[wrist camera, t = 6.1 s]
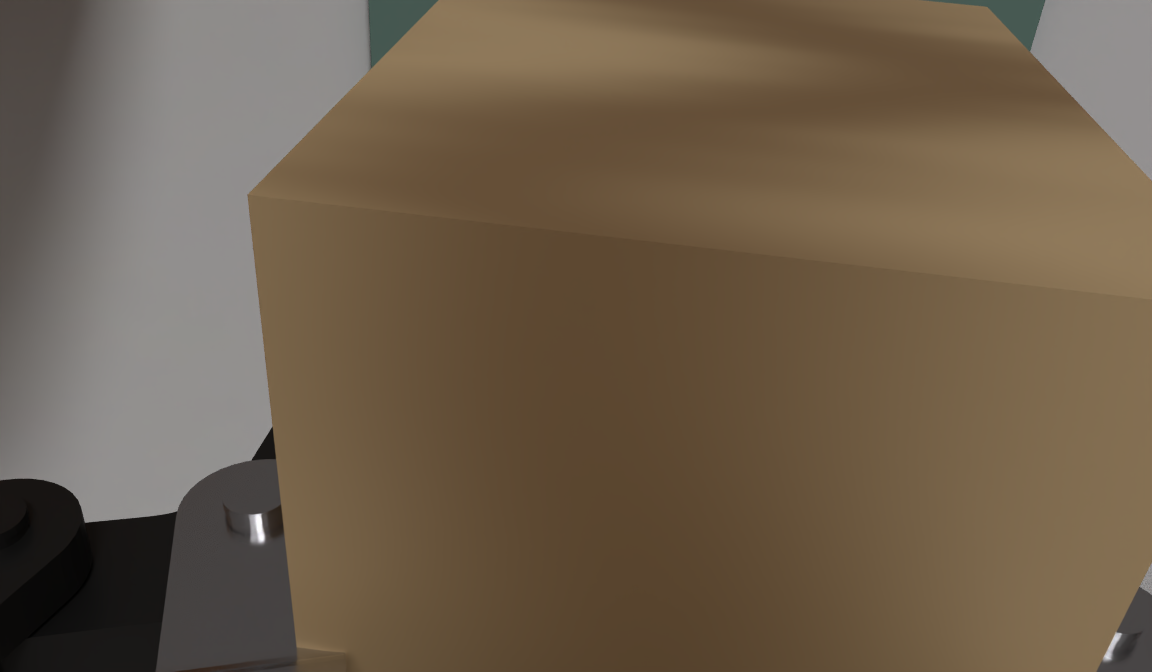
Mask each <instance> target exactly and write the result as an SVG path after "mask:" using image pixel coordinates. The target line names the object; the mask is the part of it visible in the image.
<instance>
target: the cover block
mask: <svg viewBox="0 0 1152 672" xmlns="http://www.w3.org/2000/svg"><path fill="white" fill-rule="evenodd" d="M248 204H249V213H250V222H251V231H252V241H253V250H254V259H255V268H256V277H257V287H258V296H259V305H260V314H261V323H262V333H263V342H264V351H265V360H266V369H267V379H268V388H269V397H270V406H271V415H272V425H273V434H274V443H275V452H276V461H277V471H278V480H279V489H280V498H281V507H282V517H283V526H284V535H285V544H286V553H287V563H288V572H289V581H290V590H291V600H292V609H293V618H294V627H295V636H296V646H297V647H299V648H306V649H314V650H322V651H332V652H344V653H345V656H346V670H347V672H1096V671H1097V669H1098V667H1099V665H1100V663H1101V661H1102V659H1103V657H1104V655H1105V654H1106V652H1107V650H1108V648H1109V646H1110V644H1111V642H1112V640H1113V638H1114V636H1115V634H1116V632H1117V630H1118V628H1119V626H1120V624H1121V622H1122V620H1123V618H1124V616H1125V614H1126V612H1127V610H1128V608H1129V606H1130V604H1131V602H1132V600H1133V598H1134V596H1135V594H1136V592H1137V590H1138V588H1139V586H1140V584H1141V582H1142V580H1143V578H1144V576H1145V574H1146V572H1147V570H1148V568H1149V567H1150V565H1151V563H1152V181H1151V180H1150V179H1149V178H1148V177H1147V176H1146V174H1145V173H1144V172H1143V171H1142V170H1141V169H1140V168H1139V167H1138V166H1137V165H1136V164H1135V163H1134V162H1133V161H1132V160H1131V159H1130V158H1129V156H1128V155H1127V154H1126V153H1125V152H1124V151H1123V150H1122V149H1121V148H1120V147H1119V146H1118V145H1117V144H1116V143H1115V142H1114V141H1113V140H1112V138H1111V137H1110V136H1109V135H1108V134H1107V133H1106V132H1105V131H1104V130H1103V129H1102V128H1101V127H1100V126H1099V125H1098V124H1097V123H1096V122H1095V120H1094V119H1093V118H1092V117H1091V116H1090V115H1089V114H1088V113H1087V112H1086V111H1085V110H1084V109H1083V108H1082V107H1081V106H1080V105H1079V104H1078V102H1077V101H1076V100H1075V99H1074V98H1073V97H1072V96H1071V95H1070V94H1069V93H1068V92H1067V91H1066V90H1065V89H1064V88H1063V87H1062V86H1061V84H1060V83H1059V82H1058V81H1057V80H1056V79H1055V78H1054V77H1053V76H1052V75H1051V74H1050V73H1049V72H1048V71H1047V70H1046V69H1045V68H1044V66H1043V65H1042V64H1041V63H1040V62H1039V61H1038V60H1037V59H1036V58H1035V57H1034V56H1033V55H1032V54H1031V53H1030V52H1029V51H1028V50H1027V48H1026V47H1025V46H1024V45H1023V44H1022V43H1021V42H1020V41H1019V40H1018V39H1017V38H1016V37H1015V36H1014V35H1013V34H1012V33H1011V31H1010V30H1009V29H1008V28H1007V27H1006V26H1005V25H1004V24H1003V23H1002V22H1001V21H1000V20H999V19H998V18H997V17H996V16H995V15H994V13H993V12H992V11H991V10H990V9H989V8H988V7H984V6H974V5H964V4H954V3H944V2H933V1H923V0H438V1H437V2H436V3H435V4H434V5H433V6H432V7H431V8H430V9H429V10H428V12H427V13H426V14H425V15H424V16H423V17H422V18H421V19H420V20H419V21H418V22H417V23H416V24H415V25H414V26H413V27H412V28H411V29H410V30H409V31H408V32H407V33H406V34H405V35H404V36H403V37H402V38H401V39H400V40H399V41H398V42H397V43H396V44H395V45H394V46H393V47H392V48H391V49H390V50H389V51H388V52H387V53H386V54H385V55H384V56H383V57H382V58H381V59H380V60H379V61H378V62H377V63H376V64H375V65H374V67H373V68H372V69H371V70H370V71H369V72H368V73H367V74H366V75H365V76H364V77H363V78H362V79H361V80H360V81H359V82H358V83H357V84H356V85H355V86H354V87H353V88H352V89H351V90H350V91H349V92H348V93H347V94H346V95H345V96H344V97H343V98H342V99H341V100H340V101H339V102H338V103H337V104H336V105H335V106H334V107H333V108H332V109H331V110H330V111H329V112H328V113H327V114H326V115H325V116H324V117H323V118H322V119H321V121H320V122H319V123H318V124H317V125H316V126H315V127H314V128H313V129H312V130H311V131H310V132H309V133H308V134H307V135H306V136H305V137H304V138H303V139H302V140H301V141H300V142H299V143H298V144H297V145H296V146H295V147H294V148H293V149H292V150H291V151H290V152H289V153H288V154H287V155H286V156H285V157H284V158H283V159H282V160H281V161H280V162H279V163H278V164H277V165H276V166H275V167H274V168H273V169H272V170H271V171H270V172H269V173H268V174H267V176H266V177H265V178H264V179H263V180H262V181H261V182H260V183H259V184H258V185H257V186H256V187H255V188H254V189H253V190H252V191H251V192H250V193H249V194H248Z"/></svg>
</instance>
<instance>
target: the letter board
mask: <svg viewBox="0 0 1152 672" xmlns="http://www.w3.org/2000/svg"><path fill="white" fill-rule="evenodd" d="M437 1H438V0H369V23H370V46H371V69H372V68H373V67H374V65H375V64H376V63H377V62H378V61H379V60H380V59H381V58H382V57H383V56H384V55H385V54H386V53H387V52H388V51H389V50H390V49H391V48H392V47H393V46H394V45H395V44H396V43H397V42H398V41H399V40H400V39H401V38H402V37H403V36H404V35H405V34H406V33H407V32H408V31H409V30H410V29H411V28H412V27H413V26H414V25H415V24H416V23H417V22H418V21H419V20H420V19H421V18H422V17H423V16H424V15H425V14H426V13H427V12H428V10H429V9H430V8H431V7H432V6H433V5H434V4H435V3H436V2H437ZM923 1H933V2H944V3H954V4H964V5H974V6H984V7H988V8H989V9H990V10H991V11H992V12H993V13H994V15H995V16H996V17H997V18H998V19H999V20H1000V21H1001V22H1002V23H1003V24H1004V25H1005V26H1006V27H1007V28H1008V29H1009V30H1010V31H1011V33H1012V34H1013V35H1014V36H1015V37H1016V38H1017V39H1018V40H1019V41H1020V42H1021V43H1022V44H1023V45H1024V46H1025V47H1026V48H1027V50H1028V51H1029V52H1030V50H1031V46H1032V43H1033V40H1034V36H1035V33H1036V30H1037V26H1038V23H1039V20H1040V16H1041V13H1042V10H1043V6H1044V3H1045V0H923Z"/></svg>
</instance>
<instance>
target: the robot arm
mask: <svg viewBox="0 0 1152 672" xmlns="http://www.w3.org/2000/svg"><path fill="white" fill-rule="evenodd" d="M0 672H347V670H346V656H345V653H344V652H332V651H322V650H314V649H306V648H299V647H297V646H296V636H295V627H294V618H293V609H292V600H291V590H290V581H289V572H288V563H287V553H286V544H285V535H284V526H283V517H282V507H281V498H280V489H279V480H278V471H277V461H276V452H275V443H274V434H273V427H272V428H271V430H270V432H269V433H268V435H267V436H266V438H265V440H264V441H263V443H262V444H261V446H260V448H259V449H258V451H257V452H256V454H255V456H254V457H253V459H252V460H251V461H246V462H242V463H238V464H234V465H231V466H228V467H226V468H223V469H220V470H218V471H216V472H214V473H212V474H210V475H208V476H207V477H205V478H204V479H202V480H201V481H199V482H198V483H197V484H196V485H195V486H194V487H192V488H191V489H190V490H189V492H188V493H187V494H186V495H185V496H184V498H183V500H182V501H181V503H180V505H179V507H178V511H177V512H173V513H169V514H164V515H157V516H150V517H140V518H130V519H119V520H109V521H99V522H89V523H85V522H84V517H83V513H82V509H81V506H80V504H79V501H78V499H77V498H76V497H75V496H74V495H73V493H71V492H70V491H69V490H67V489H66V488H64V487H62V486H60V485H58V484H55V483H52V482H48V481H44V480H36V479H10V480H1V481H0ZM1096 672H1152V595H1151V594H1150V593H1148V592H1147V591H1145V590H1144V589H1142V588H1140V587H1139V588H1138V590H1137V592H1136V594H1135V596H1134V598H1133V600H1132V602H1131V604H1130V606H1129V608H1128V610H1127V612H1126V614H1125V616H1124V618H1123V620H1122V622H1121V624H1120V626H1119V628H1118V630H1117V632H1116V634H1115V636H1114V638H1113V640H1112V642H1111V644H1110V646H1109V648H1108V650H1107V652H1106V654H1105V655H1104V657H1103V659H1102V661H1101V663H1100V665H1099V667H1098V669H1097V671H1096Z"/></svg>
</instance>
